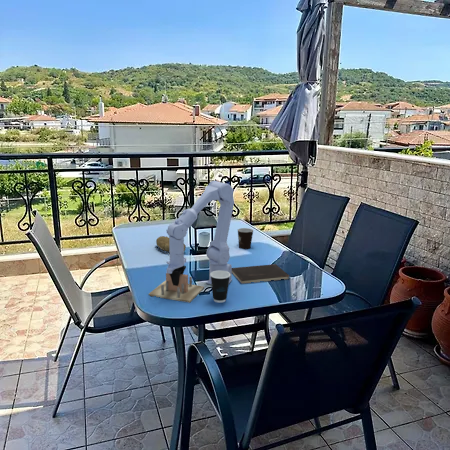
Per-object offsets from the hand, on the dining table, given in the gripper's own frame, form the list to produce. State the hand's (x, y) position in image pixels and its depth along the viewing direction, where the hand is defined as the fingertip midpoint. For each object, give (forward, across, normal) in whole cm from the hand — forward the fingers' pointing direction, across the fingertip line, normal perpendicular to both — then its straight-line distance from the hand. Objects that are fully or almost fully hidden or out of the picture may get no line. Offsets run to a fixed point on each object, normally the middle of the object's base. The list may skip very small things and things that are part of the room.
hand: (176, 284), depth 168 cm
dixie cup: (+4, +1, +19) cm, 19 cm away
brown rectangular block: (+3, 0, 0) cm, 3 cm away
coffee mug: (+4, -70, +9) cm, 71 cm away
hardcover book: (+4, -31, +27) cm, 41 cm away
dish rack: (+3, 0, 0) cm, 3 cm away
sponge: (+4, -48, -26) cm, 55 cm away
